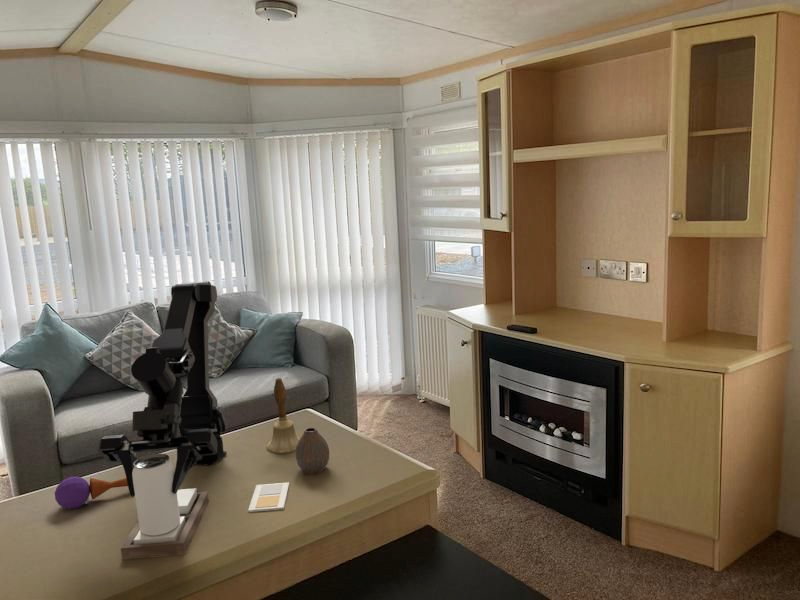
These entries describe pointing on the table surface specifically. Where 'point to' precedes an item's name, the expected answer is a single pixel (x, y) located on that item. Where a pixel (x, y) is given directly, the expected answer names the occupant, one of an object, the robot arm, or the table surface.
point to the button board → (167, 547)
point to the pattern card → (269, 497)
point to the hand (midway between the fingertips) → (153, 494)
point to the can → (155, 495)
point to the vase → (312, 452)
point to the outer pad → (167, 537)
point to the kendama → (82, 490)
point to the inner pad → (186, 499)
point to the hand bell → (282, 425)
